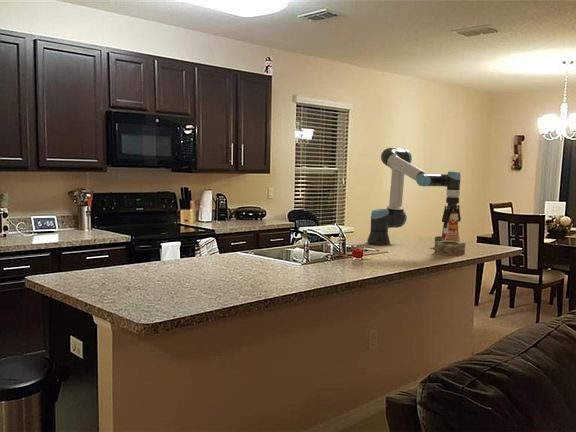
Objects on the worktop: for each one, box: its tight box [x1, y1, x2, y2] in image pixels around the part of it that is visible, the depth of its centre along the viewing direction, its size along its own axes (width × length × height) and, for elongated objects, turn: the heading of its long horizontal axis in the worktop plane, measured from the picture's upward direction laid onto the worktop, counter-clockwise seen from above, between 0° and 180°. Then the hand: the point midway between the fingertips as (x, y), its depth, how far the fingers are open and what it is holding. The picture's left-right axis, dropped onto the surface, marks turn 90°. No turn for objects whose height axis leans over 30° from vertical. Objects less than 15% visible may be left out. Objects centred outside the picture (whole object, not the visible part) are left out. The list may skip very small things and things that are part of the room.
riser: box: [433, 241, 467, 257], centre depth 324 cm, size 13×13×7 cm
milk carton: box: [441, 209, 461, 242], centre depth 323 cm, size 9×9×20 cm
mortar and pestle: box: [434, 235, 443, 243], centre depth 347 cm, size 11×9×12 cm
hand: (450, 232), depth 323 cm, fingers closed on milk carton, 11 cm apart
